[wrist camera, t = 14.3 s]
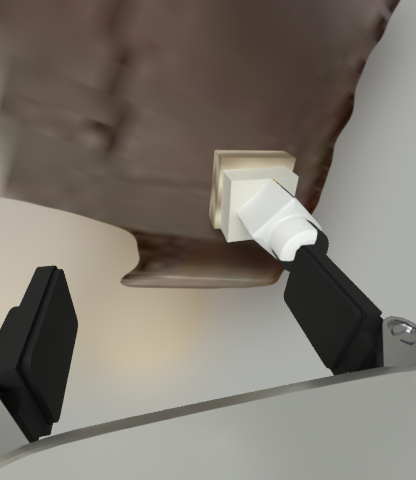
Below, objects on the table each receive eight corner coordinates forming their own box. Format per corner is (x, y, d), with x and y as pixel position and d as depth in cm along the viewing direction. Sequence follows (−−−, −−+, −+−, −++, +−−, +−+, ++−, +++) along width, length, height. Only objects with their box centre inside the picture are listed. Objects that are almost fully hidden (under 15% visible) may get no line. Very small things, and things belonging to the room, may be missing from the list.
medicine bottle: (298, 206, 42) (347, 251, 32) (263, 237, 44) (299, 288, 34) (271, 176, 39) (317, 217, 29) (234, 212, 40) (265, 261, 31)
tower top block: (222, 170, 41) (231, 181, 38) (284, 166, 43) (298, 176, 40) (220, 227, 47) (227, 242, 43) (275, 222, 49) (286, 235, 45)
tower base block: (214, 149, 44) (221, 157, 40) (283, 150, 47) (295, 158, 43) (208, 216, 50) (214, 228, 47) (269, 213, 53) (279, 225, 49)
